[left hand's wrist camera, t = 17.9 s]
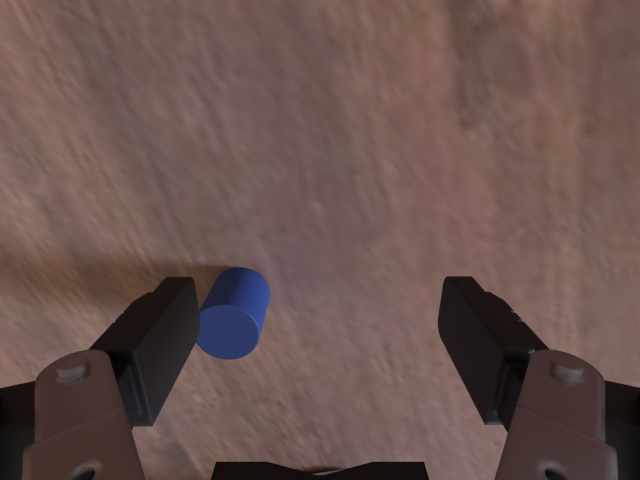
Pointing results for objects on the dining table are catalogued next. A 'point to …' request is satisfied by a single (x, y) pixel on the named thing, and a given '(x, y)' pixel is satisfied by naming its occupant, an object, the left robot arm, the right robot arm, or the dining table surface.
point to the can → (233, 314)
